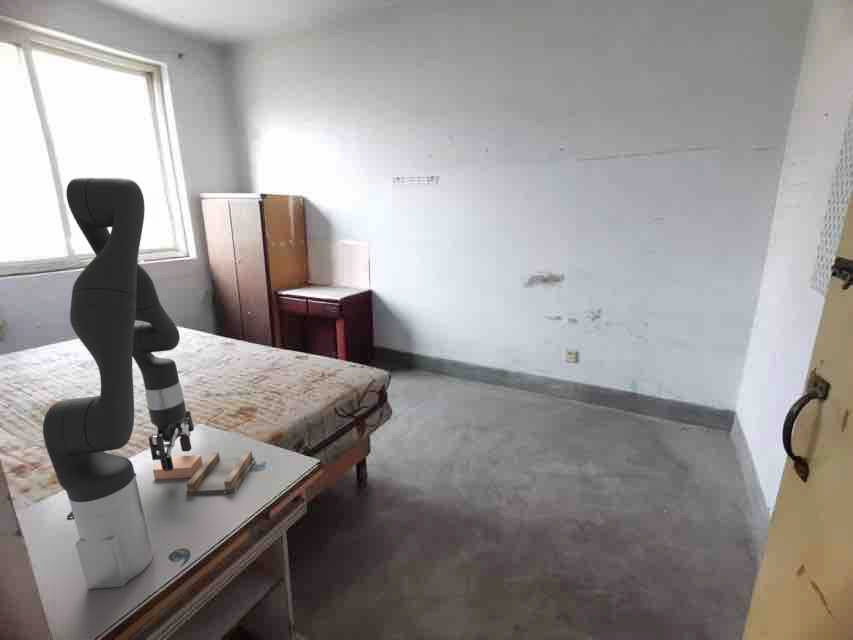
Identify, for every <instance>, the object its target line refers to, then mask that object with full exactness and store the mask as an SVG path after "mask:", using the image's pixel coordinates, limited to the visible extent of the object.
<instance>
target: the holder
mask: <svg viewBox="0 0 853 640" xmlns="http://www.w3.org/2000/svg"><path fill="white" fill-rule="evenodd" d="M254 459H255V460H256V457H253V451H252V450H245V452H244V453H243V454H242V456H241V457H238V458H237V457H236V458H221V457H220V453H219V452H212V453H211V454H210V455H209V457H208V458H207V459H206V460H205V461H204V463H202V465H201V467H200V468H199V469H198V470H197V472H196V473H195V474H194V475H193V477H190V479H189V480H188V481H187V482H186V488H187V490H186V491H185V493H186V494H185V495H186V496H199V495H201V494H203V495H212V494H211V493H220V494H225V493H224V492H235V490H236V489H237V490H238V488H239V487H240V485H241V484H240V483H242V482H243V481H242V480H244V479H245V477H246V476H247V474H248V473H247V471H248V469H249V467H250V466H251V464H252V462H253V461H254ZM251 467H252V466H251ZM248 472H249V471H248ZM246 473H247V474H246ZM245 475H246V476H245ZM244 476H245V477H244ZM243 478H244V479H243ZM241 481H242V482H241ZM238 486H239V487H238ZM237 490H236V491H237ZM235 493H236V492H235Z"/></svg>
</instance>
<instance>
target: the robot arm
mask: <svg viewBox="0 0 853 640" xmlns="http://www.w3.org/2000/svg"><path fill="white" fill-rule="evenodd" d="M65 191H66V192H65V193H66V196H65V197H66V200H67V203H68V207H69V210H70V213H71V214H72V216H73V218H74V221H75V222H76V224H77V226H78V228H79V229H80V231H81V232H82V234H83V236H84V238H85V239H86V241H87V242H88V244H89V246H90V247H91V249H92V250H93V253H94V254H95V255H96V256H95V257H93V259H92V260H91V261H90V262H89V263H88V264H87V265H86V266H85V268H84V269H83V270H82V271H81V272H80V274H79V275H78V277H77V278H76V279H75V282H74V283H73V287H72V291H71V299H70V311H69V321H70V325H71V327H72V330H73V332H74V333H75V335H76V336H77V337H78V340H80V341H81V343H82V345H84V347H85V348H86V350H87V351H88V352H89V354H90V355H91V357H93V360H94V361H95V363H96V365H97V367H98V370H99V371H98V372H99V377H100V393H99V394H100V395H96V396H88V397H87V396H85V397H77V398H68V399H64V400H60V401H57V402H55V403H54V404H52V405H51V406H50V407H49V409H48V410H47V412H46V413H45V415H44V418H43V424H42V436H43V442H44V444H45V445H44V446H45V448H46V451H47V454H48V457H49V459H50V461H51V464H52V467H53V470H54V473H55V475H56V478H57V481H58V483H59V485H60V487H61V488H62V489H63V490H64V491H65V492H66V494H67V497H68V501H69V504H70V507H71V511H72V512H73V516H74V518H73V519H74V523H75V526H76V527H75V528H76V530H77V535H78V537H79V539H78V540H77V541H76V542H75V547H76V551H77V555H78V558H79V562H80V566H81V569H82V573H83V576H84V580H85V583H86V587H87V589H88V590H91V589H105V588H106V589H107V588H123V587H124V586H126V584H127V583H128V582H129V581H130V580H132V579H134V578H136V577H137V576H138V575H139V574H140V573H142V572H143V571H144V570H145V569H147V568H148V566H149V565H150V563H151V562H152V560H153V557H154V552H153V547H152V544H151V539H150V534H149V529H148V524H147V521H146V518H145V517H146V516H145V512H144V509H143V504H142V500H141V495H140V491H139V486H138V482H137V477H136V476H135V473H136V472H135V470H134V469H135V468H134V465H133V463H132V461H131V460H130V459H129V458H127V457H125V456H121V455H116V454H112V453H108V452H109V451H115V450H120V449H122V448H123V447H124V446H126V445H127V444H128V443H129V441H130V440H131V436H132V434H133V430H134V424H135V396H134V394H135V391H134V378H133V377H134V376H133V375H134V373H133V359H134V361H135V363H136V365H137V367H138V368H139V370H140V373H141V375H142V380H143V385H144V389H145V400H146V405H147V410H148V414H149V418H150V422H151V424H152V425H153V426H154V427H155V426H156V428H157V432H156V434H155V435H149V438H148V442H149V448H150V454H151V458H152V460H153V461H160V462H161V466H162V469H163V471H171V470H172V469H173V468H174V467H173V463H172V458H171V457H172V449H173V448H174V447H175V444H176V441H177V440H178V438H179V444H180V448H181V452H191V450H192V444H191V439H190V437H191V436H192V435H191V434H192V433H191V432H193V431H194V430H195V428H194V423H193V418H192V414H191V410H187V407H186V403H185V399H184V392H183V388H182V386H181V383H180V380H179V374H178V369H177V364H176V362H175V360H173V359H172V358H171V359H170V358H165V357H158V356H156V355H154V354H153V353H157V352H159V353H160V352H169V351H172V350H174V349H175V348H177V346H178V345H179V343H180V340H181V337H180V332H179V329H178V327H177V325H176V323H174V321H173V320H172V318H171V317H170V315H169V314H168V313H167V312H166V310H165V309H164V307H163V305H162V304H161V302H160V299H159V295H158V293H157V290H156V286H155V284H154V282H153V279H152V278H151V276H150V275H149V273H148V272H147V271H146V269H144V267H142V265H140V264H139V262H138V261H139V258H138V257H139V252H140V245H141V240H142V233H143V228H144V220H145V208H146V207H145V198H144V194H143V191H142V189H141V187H140V185H139V184H138V183H137V182H136V181H135V180H132V179H129V178H122V177H77V178H73V179H71V180H70V181H69V182H68V184H67V186H66V190H65ZM108 228H111V229H110V231H109V229H108ZM136 321H138V322H140V323H136ZM187 425H188V426H187ZM164 442H165V443H164Z"/></svg>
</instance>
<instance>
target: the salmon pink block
mask: <svg viewBox="0 0 853 640" xmlns="http://www.w3.org/2000/svg"><path fill="white" fill-rule="evenodd" d="M171 458H172V463H173V467H174V468H173V469H172V470H171V471H163V469H162V466H161V461H160V462H159V463H158V464H157V465H156V466H155V467H154V468H153V469H152V471H153V472H152V473H153V477H154V480H163V479H164V480H165V479H167V480H168V479H181V478H192V477H193V476H194V475H195V473H196V472H197V471H198V470H199V469H200V467H201V466H202V465H203V458H202V455H201V454H197V455H182V456H181V455H179V456H171Z"/></svg>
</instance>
